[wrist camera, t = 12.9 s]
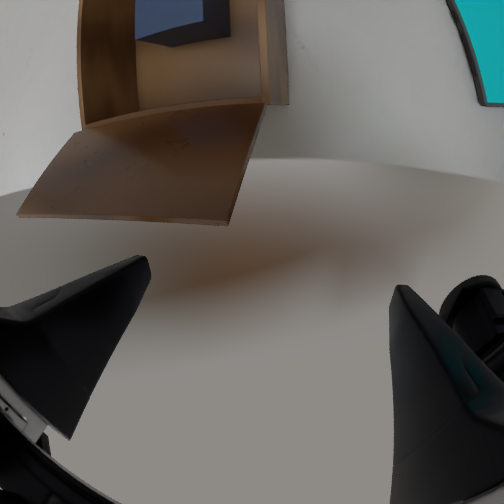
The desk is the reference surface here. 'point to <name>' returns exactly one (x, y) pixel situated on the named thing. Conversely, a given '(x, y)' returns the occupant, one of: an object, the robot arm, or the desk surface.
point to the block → (181, 21)
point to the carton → (177, 63)
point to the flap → (152, 168)
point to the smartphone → (483, 45)
